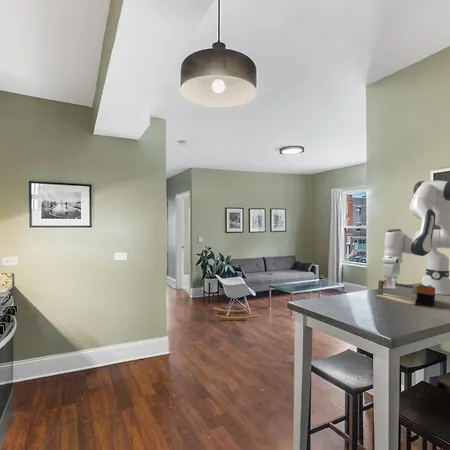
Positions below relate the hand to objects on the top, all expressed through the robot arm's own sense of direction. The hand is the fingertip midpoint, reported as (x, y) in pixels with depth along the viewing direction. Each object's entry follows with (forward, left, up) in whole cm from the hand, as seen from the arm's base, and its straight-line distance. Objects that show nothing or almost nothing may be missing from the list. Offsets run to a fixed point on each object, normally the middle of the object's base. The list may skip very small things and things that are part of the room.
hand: (391, 284), depth 165 cm
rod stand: (0, +3, -8) cm, 8 cm away
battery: (0, +16, -8) cm, 17 cm away
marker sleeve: (0, 0, -2) cm, 2 cm away
